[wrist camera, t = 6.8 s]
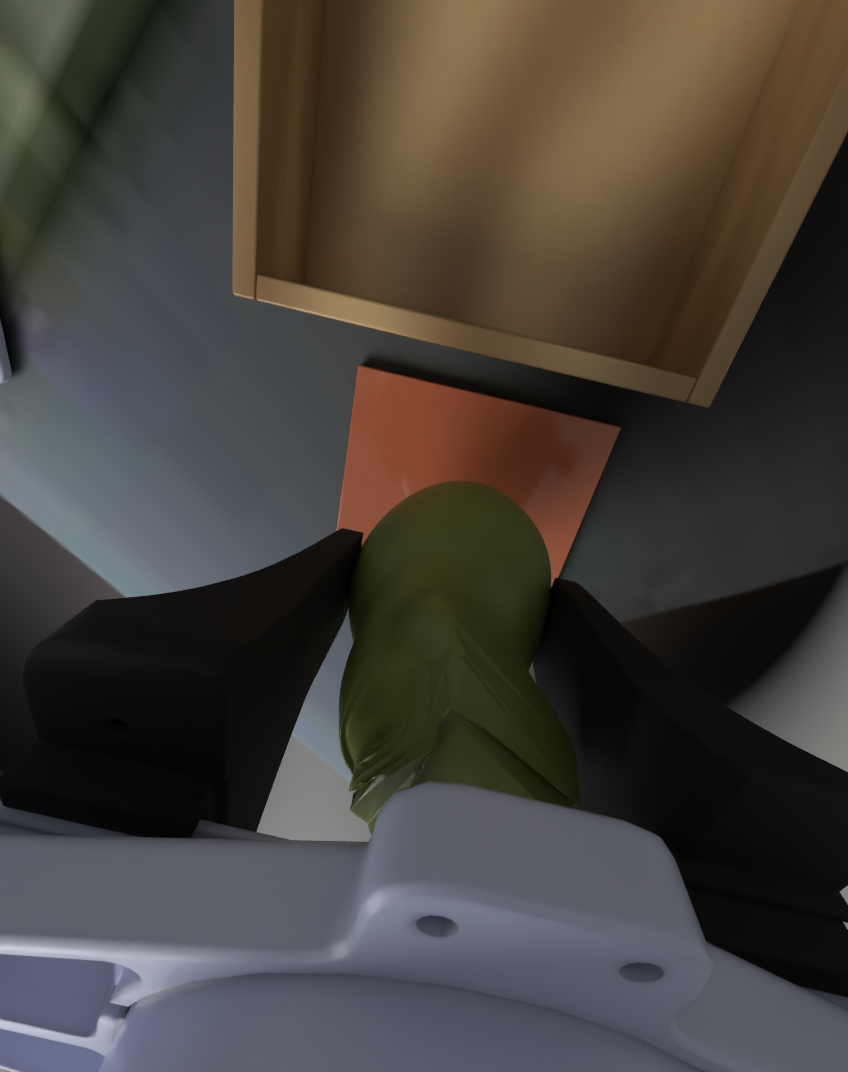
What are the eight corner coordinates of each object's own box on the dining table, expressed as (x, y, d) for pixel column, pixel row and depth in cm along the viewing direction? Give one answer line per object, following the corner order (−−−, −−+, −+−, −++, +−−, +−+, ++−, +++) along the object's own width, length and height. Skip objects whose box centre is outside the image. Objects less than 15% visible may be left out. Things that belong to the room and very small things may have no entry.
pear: (350, 516, 15) (187, 788, 7) (473, 423, 14) (479, 626, 5) (447, 621, 17) (421, 954, 8) (568, 551, 15) (705, 882, 6)
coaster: (331, 581, 19) (328, 586, 19) (360, 364, 15) (357, 365, 14) (533, 628, 19) (534, 634, 19) (618, 424, 15) (621, 427, 15)
